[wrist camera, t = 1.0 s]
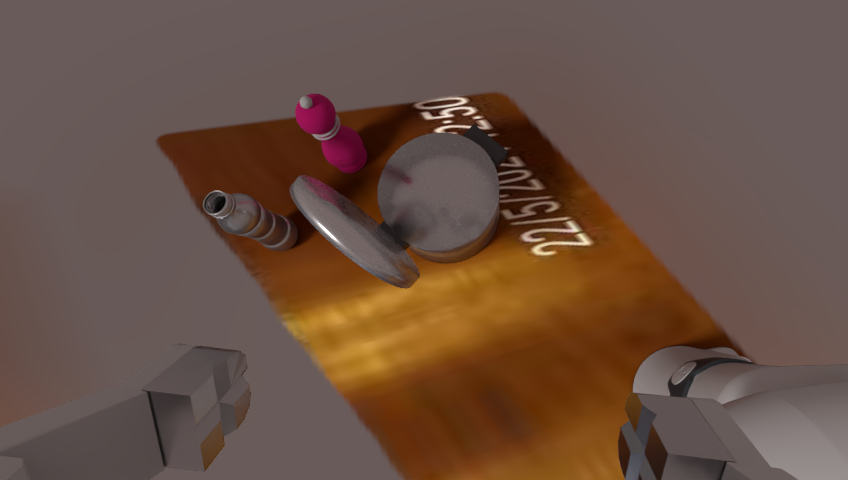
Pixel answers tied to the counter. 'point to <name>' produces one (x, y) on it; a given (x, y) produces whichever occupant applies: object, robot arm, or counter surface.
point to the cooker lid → (354, 232)
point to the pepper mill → (331, 133)
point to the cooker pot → (443, 194)
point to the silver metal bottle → (251, 220)
